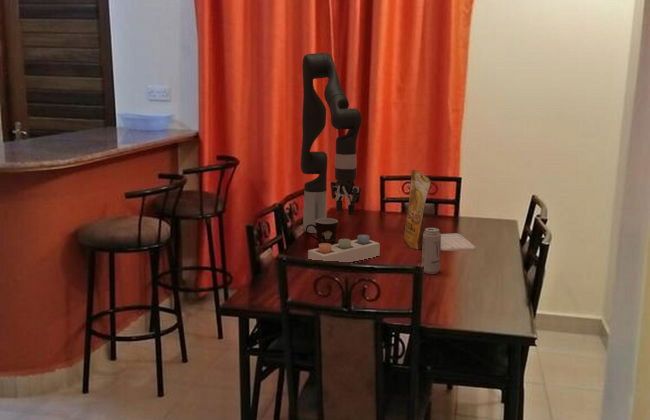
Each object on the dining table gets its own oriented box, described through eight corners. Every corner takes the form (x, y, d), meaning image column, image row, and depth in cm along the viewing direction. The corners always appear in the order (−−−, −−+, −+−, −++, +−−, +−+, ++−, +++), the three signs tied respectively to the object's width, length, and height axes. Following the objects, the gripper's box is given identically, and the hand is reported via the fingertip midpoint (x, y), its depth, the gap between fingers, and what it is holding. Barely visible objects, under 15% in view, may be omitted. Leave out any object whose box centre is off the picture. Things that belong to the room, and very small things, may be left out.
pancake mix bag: (416, 236, 275) (419, 168, 268) (429, 250, 256) (432, 177, 250) (400, 237, 274) (402, 169, 267) (412, 251, 256) (414, 178, 249)
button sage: (335, 248, 244) (336, 240, 243) (345, 245, 247) (345, 237, 246) (343, 250, 241) (343, 242, 240) (353, 248, 243) (353, 240, 243)
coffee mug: (340, 244, 264) (340, 219, 262) (333, 250, 257) (333, 224, 254) (312, 241, 268) (312, 216, 266) (304, 247, 260) (304, 222, 258)
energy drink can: (435, 275, 229) (436, 232, 225) (418, 272, 232) (420, 230, 228) (442, 270, 234) (443, 228, 230) (425, 267, 237) (427, 226, 233)
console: (308, 263, 240) (308, 250, 239) (363, 250, 256) (363, 237, 255) (323, 270, 234) (323, 256, 232) (379, 256, 249) (379, 243, 248)
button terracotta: (316, 252, 239) (316, 244, 238) (325, 250, 241) (325, 242, 241) (323, 255, 235) (323, 247, 235) (333, 253, 238) (333, 245, 237)
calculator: (442, 252, 256) (442, 247, 256) (427, 238, 275) (427, 233, 275) (476, 251, 258) (476, 246, 257) (459, 236, 277) (459, 232, 277)
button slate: (354, 243, 250) (355, 235, 249) (363, 241, 252) (364, 233, 252) (362, 246, 246) (362, 238, 246) (371, 244, 249) (371, 236, 248)
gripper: (324, 164, 240) (324, 210, 244) (350, 170, 229) (350, 218, 233) (340, 162, 245) (340, 207, 248) (367, 167, 234) (366, 215, 238)
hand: (345, 212), depth 241 cm, fingers open, 5 cm apart
